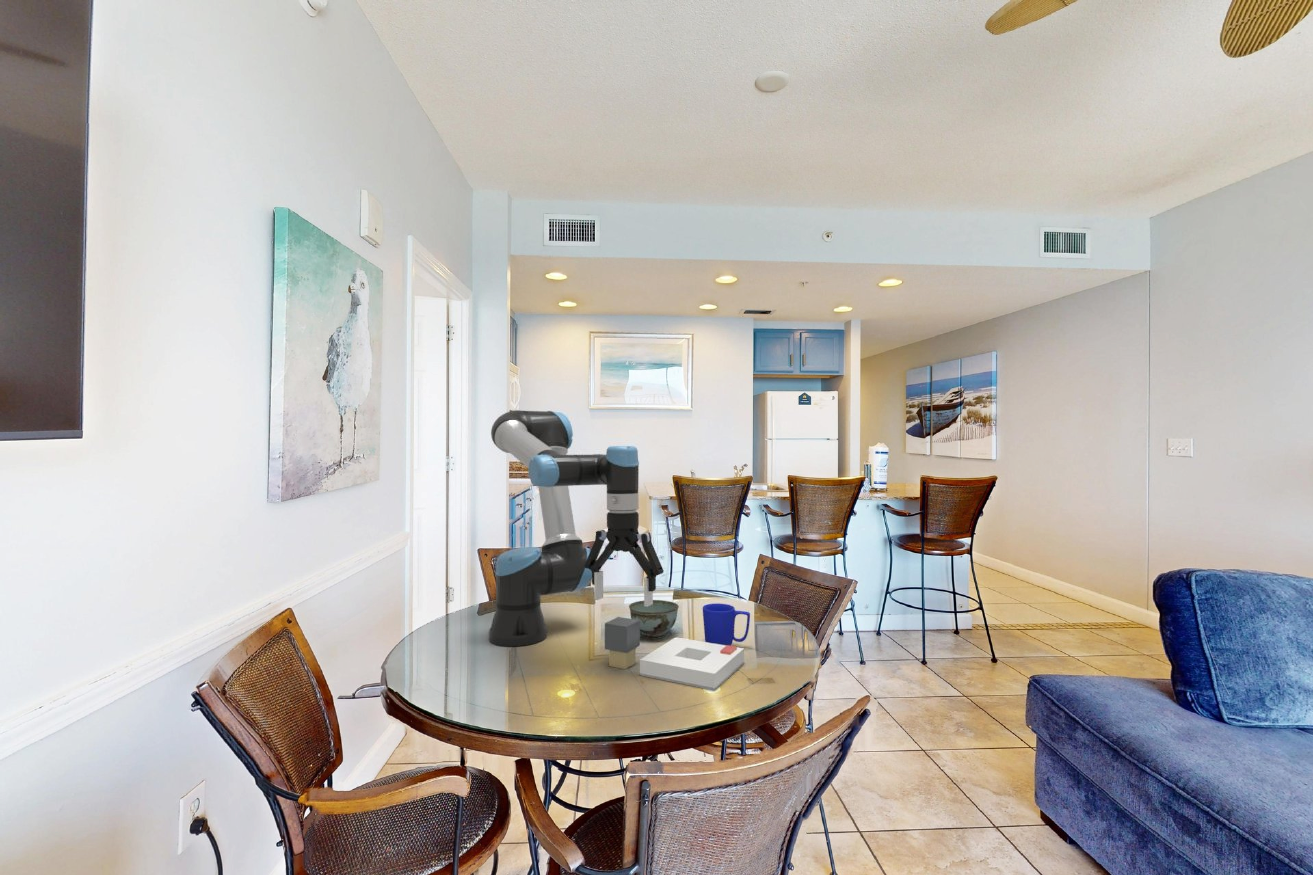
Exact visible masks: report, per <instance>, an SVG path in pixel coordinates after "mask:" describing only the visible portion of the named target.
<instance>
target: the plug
mask: <svg viewBox="0 0 1313 875" xmlns="http://www.w3.org/2000/svg"><path fill="white" fill-rule="evenodd" d="M640 641H641V632H640V620H635V619H631V618H628V617H622V616H617V617H615V618H613V619H611V620H608V621H607V622H604V650H608V651H609V652H608V653H609V654H608V660H609V661H608V665H609V667H612V668H618V669H622V670H627V669H628V668H630V667H632V666H634V665H635V664H636V659H637V658H636V648H638V647H640V646H641V642H640Z"/></svg>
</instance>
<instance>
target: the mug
mask: <svg viewBox="0 0 1313 875" xmlns="http://www.w3.org/2000/svg"><path fill="white" fill-rule="evenodd" d="M738 615H744V616H746V619H747V620H746V628H745V631H744V632H745V633H744V635H743V637H741V638H736V637H735V625H736V624H735V622H736V617H737V616H738ZM702 617H703V618H702V620H703V630H704V632H703V633H704V634H703V635H704V642H708V643H714V644H720V645H726V646H727V645H730V646H733V645H732V644H733V641H735V642H737V643H742V642H744V641H745V640H746V639H747V637H748V634H749V629H750V621H751V613H750V612H749V611H744V610H736V608H735V607H734V606H733V605H732V604H726V603H716V602H715V603H709V604H705V605H703V606H702Z"/></svg>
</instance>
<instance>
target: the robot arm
mask: <svg viewBox="0 0 1313 875" xmlns="http://www.w3.org/2000/svg"><path fill="white" fill-rule="evenodd" d="M490 430H491V431H490V434H491V435H490V436H491V440H492V442H493V444H494V445H495V446H496V448H497V449H499V450H501V452H504V453H505V454H506V453H507V454H511V456H513V457H514V458H515V459H516V460H518V461H519V462H520V463H521V464H523V466H524V467H526V468H528V471H527V473H528V474H527V475H528V478H529V480H530V483H531V484H532V485H533V486H534V487H537V488H538V494H539V500H540V509H541V516H542V522H543V523H542V524H543V529H544V536H545V541H544V543H543V544H542V545H541V547H537V546H527V547H526V546H525V547H518V548H513V549H510V550H506V551H505V552H503V553H501V554H499V556H498V557H497V559H496V568H495V575H496V576H495V579H496V580H495V589H496V590H495V598H496V599H495V601H496V602H495V612H494V615H493V619H492V621H491V626H490V627H489V632H488V640H489V642H490V643H492V644H494V645H498V646H503V647H521V646H528V645H533V644H536V643H540V642H542V641H544V640H545V639H547V637H548V626H547V624H546V622H545V618H544V615H543V612H542V609H541V597H542V596H546V595H553V594H559V593H560V594H561V593H567V592H570V593H572V592H574V591H579V590H583V589H585V588H587V587H588V586H589V584H590V582H591V585H592V586H594V599H593V600H594V601H599V600H602V599H604V570H602V567H603V566H604V565H605V564H606V562H607V561H608V560H609V558H610V557H611V556H612V554H613V553H614V552H620V551H621V552H622V553H624V552H625V553H627V552H629V554H631V555H632V556H633V557H634V559H635V560H636V562H637V563H638V565H639V566H640V568H641V569H642V571H643V572H644V573H645V575H646V576H645V577H643V588H644V589H643V592H644V593H643V595H644V596H643V601H644V606H646V607H648V606H650V605H652V604H653V600H654V596H653V595H654V594H653V593H654V591H656V589H657V578H656V577H657V576H660V575H662V574H664V568H663V566H662V564H661V561H660V559H659V556H658V555H657V552H656V550H655V548H654V545H653V542H652V536H651V535H652V534H651V533H650V532H645V533H639V526H640V525H639V523H640V522H639V521H640V520H639V515H640V514H639V512H638V510H639V509H640V507H639V502H640V501H639V467H640V466H639V465H640V461H639V454H638V453H639V450H638V448H637V446H634V445H610V446H608V447H607V449H606V453H605V454H602V453H598V454H597V453H593V454H568V453H569V450H568V449H570V448H571V445H572V443H573V437H574V436H573V435H574V433H573V427H572V424H571V421H570V420H569V418H568V416H567V415H566V414H564V413H562V412H558V411H552V410H547V411H543V410H542V411H540V410H519V409H517V410H516V409H515V410H511V411H507V412H505V413H503V414H501V415H500V416H498V417H497V419H495V421H494V422H493V424H492V426H491V429H490ZM597 485H599V486H602V485H604V486H606V510H607V511H609V512H607V513H606V528H607V531H605V530H604V529H601V530H597V531H595V538H594V542H593V544H592V546H591V549H590V548H589V547H587V546H584V543H583V540H582V539H581V538H580V537H579V536H577V533H576V527H575V522H574V515H573V510H572V502H571V496H570V489H569V487H572V486H573V487H574V486H597ZM606 539H607V542H608V543H607V545H606V546H605V547H604V550H603V551H602V552H601V550H602V548H603V546H604V544H605V541H606ZM638 541H639V542H640V543H641V545H642V547H641V546H640V545H639V544H638ZM642 548H643V550H644V552H643V551H642ZM600 552H601V554H600ZM644 553H645V554H644Z"/></svg>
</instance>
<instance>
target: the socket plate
mask: <svg viewBox="0 0 1313 875" xmlns="http://www.w3.org/2000/svg"><path fill="white" fill-rule="evenodd" d="M744 664H745V648H744V647H738V646H734V645H731V646H730V645H727V646H726V645H720V644H714V643H708V642H705V641H700V640H694V639H689V638H688V639H687V638H683V637H682V638H681V637H674V638H672V639H670V640H669V641H668V642H665V643H664V644H663V645H661V646H659V647H657V648H656V649H655V650H652V652H649V653H648V654H646V655H644V657H642V658H640V659H639V676H642V677H647V678H652V679H656V680H661V681H666V682H672V683H676V684H679V685H680V684H681V685H686V686H692V687H695V688H701V689H705V690H711V691H716V690H717V689H718V688H719V687H720V686H722V685H723V683H725V681H727V679H729V678H730V677H731V676H732V675H733V674H735V672H736V671H738V670H739V669H740V668H741V667H742V666H744Z"/></svg>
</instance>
